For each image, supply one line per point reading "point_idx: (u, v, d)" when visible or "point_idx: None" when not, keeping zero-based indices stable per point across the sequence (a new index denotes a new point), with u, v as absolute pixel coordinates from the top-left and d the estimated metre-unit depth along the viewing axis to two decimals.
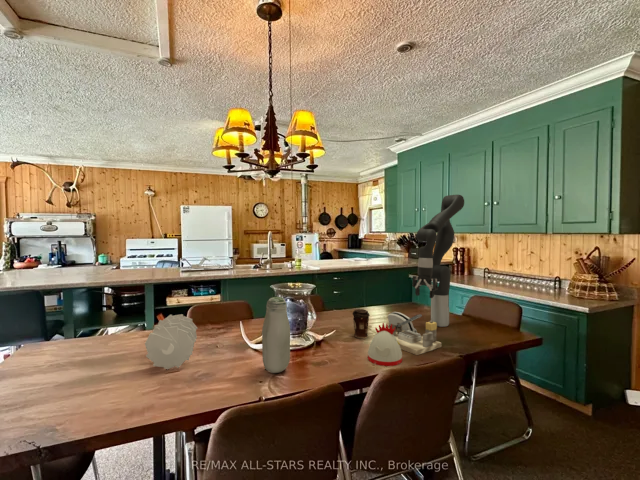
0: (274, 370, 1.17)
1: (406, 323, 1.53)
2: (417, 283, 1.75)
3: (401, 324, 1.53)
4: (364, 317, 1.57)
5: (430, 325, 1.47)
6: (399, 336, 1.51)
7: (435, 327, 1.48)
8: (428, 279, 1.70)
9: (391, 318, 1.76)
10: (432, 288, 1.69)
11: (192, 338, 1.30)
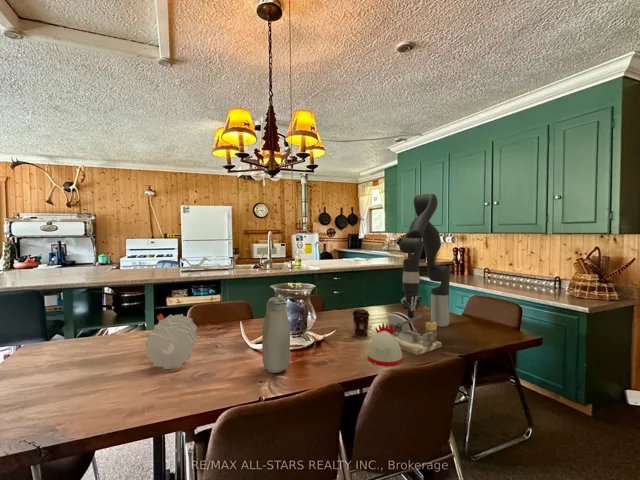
0: (274, 370, 1.17)
1: (406, 323, 1.53)
2: (411, 304, 1.48)
3: (401, 324, 1.53)
4: (364, 317, 1.57)
5: (430, 325, 1.47)
6: (399, 336, 1.51)
7: (435, 327, 1.48)
8: (417, 297, 1.51)
9: (391, 318, 1.76)
10: None
11: (192, 338, 1.30)
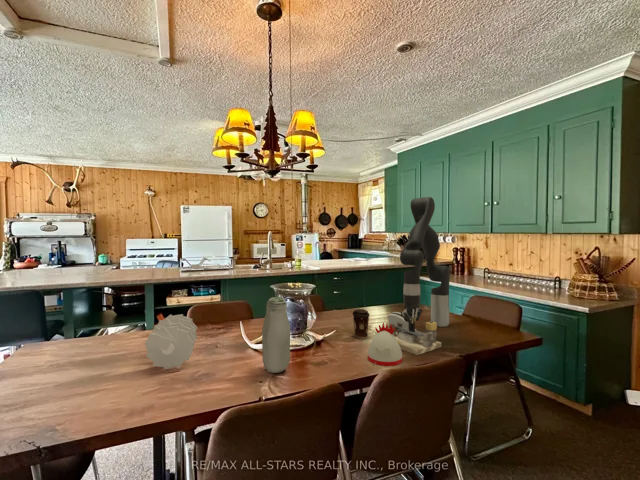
0: (274, 370, 1.17)
1: None
2: (412, 316, 1.47)
3: (402, 330, 1.53)
4: (364, 317, 1.57)
5: (430, 325, 1.47)
6: (399, 336, 1.51)
7: (435, 327, 1.48)
8: (417, 309, 1.50)
9: (391, 318, 1.76)
10: None
11: (192, 338, 1.30)
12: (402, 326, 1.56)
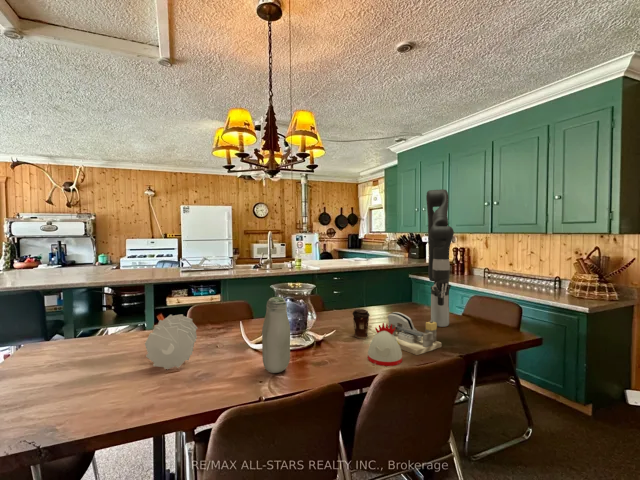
0: (274, 370, 1.17)
1: None
2: (442, 291, 1.50)
3: (402, 330, 1.53)
4: (364, 317, 1.57)
5: (430, 325, 1.47)
6: (399, 336, 1.51)
7: (435, 327, 1.48)
8: (446, 285, 1.53)
9: (391, 318, 1.76)
10: None
11: (192, 338, 1.30)
12: (402, 326, 1.56)
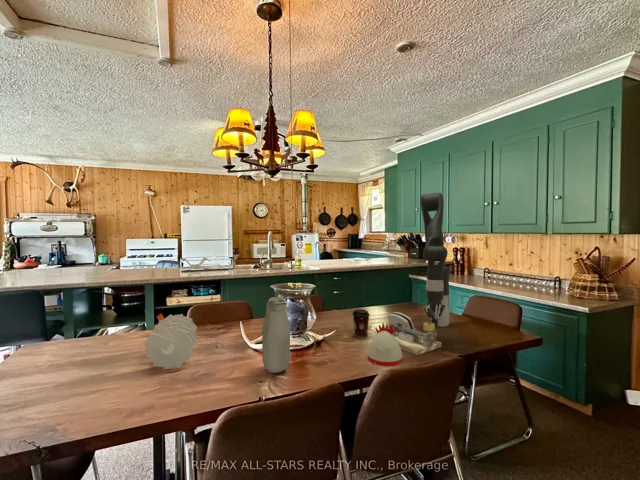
0: (274, 370, 1.17)
1: None
2: (436, 312, 1.48)
3: (402, 330, 1.53)
4: (364, 317, 1.57)
5: (428, 326, 1.46)
6: (399, 336, 1.51)
7: (433, 328, 1.47)
8: (440, 305, 1.51)
9: (391, 318, 1.76)
10: None
11: (192, 338, 1.30)
12: (402, 326, 1.56)
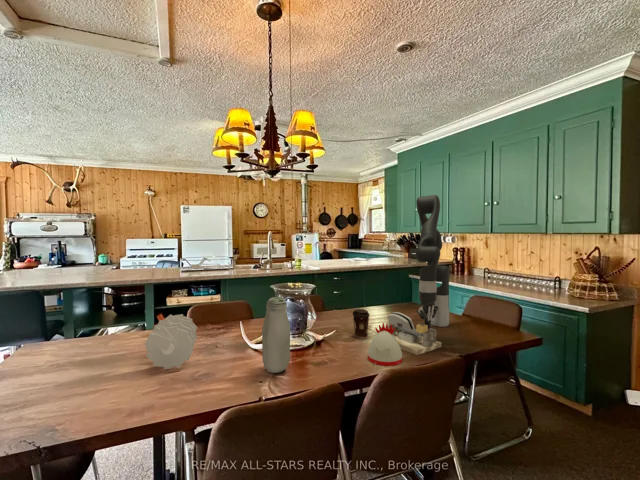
0: (274, 370, 1.17)
1: None
2: (429, 314, 1.45)
3: (402, 330, 1.53)
4: (364, 317, 1.57)
5: (421, 327, 1.43)
6: (399, 336, 1.51)
7: (426, 330, 1.44)
8: (433, 307, 1.48)
9: (391, 318, 1.76)
10: None
11: (192, 338, 1.30)
12: (402, 326, 1.56)
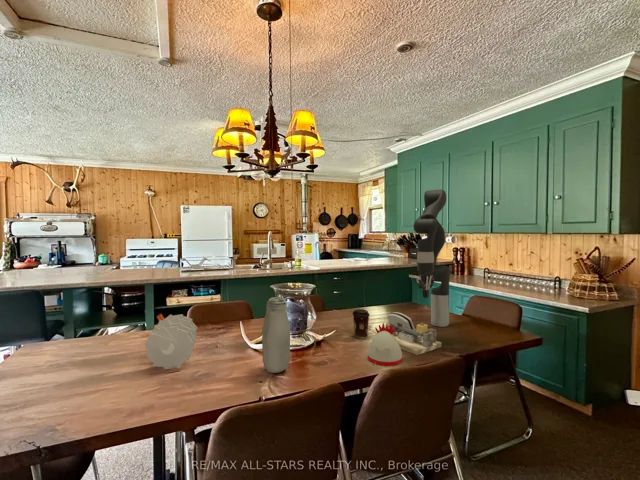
0: (274, 370, 1.17)
1: None
2: (426, 283, 1.51)
3: (402, 330, 1.53)
4: (364, 317, 1.57)
5: (421, 327, 1.43)
6: (399, 336, 1.51)
7: (426, 330, 1.44)
8: None
9: (391, 318, 1.76)
10: None
11: (192, 338, 1.30)
12: (402, 326, 1.56)
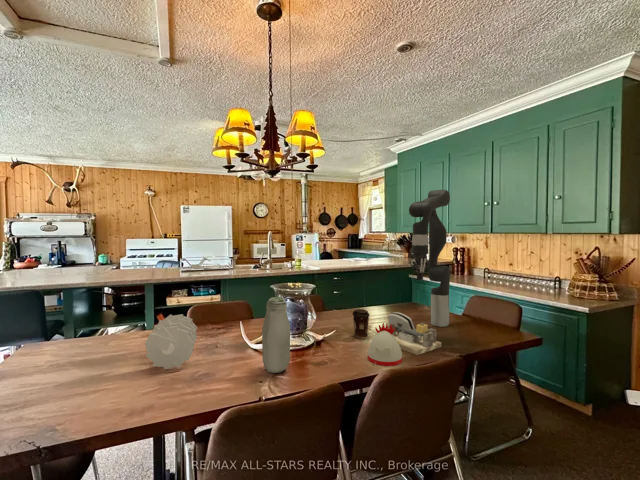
0: (274, 370, 1.17)
1: None
2: (421, 266, 1.54)
3: (402, 330, 1.53)
4: (364, 317, 1.57)
5: (421, 327, 1.43)
6: (399, 336, 1.51)
7: (426, 330, 1.44)
8: (425, 260, 1.57)
9: (391, 318, 1.76)
10: None
11: (192, 338, 1.30)
12: (402, 326, 1.56)
